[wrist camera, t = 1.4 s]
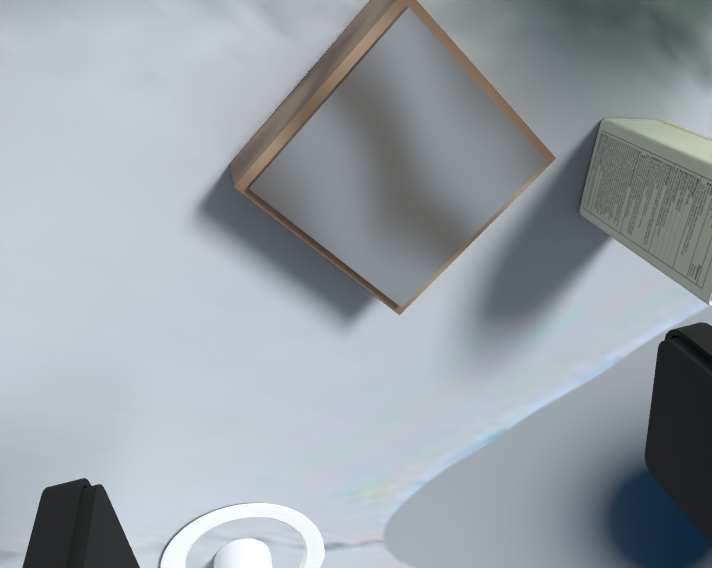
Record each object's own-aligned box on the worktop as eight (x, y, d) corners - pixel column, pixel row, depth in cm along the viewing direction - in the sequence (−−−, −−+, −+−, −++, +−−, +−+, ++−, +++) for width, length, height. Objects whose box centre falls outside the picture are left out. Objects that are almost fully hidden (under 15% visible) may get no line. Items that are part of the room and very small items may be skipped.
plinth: (385, -17, 32) (409, -11, 29) (525, 139, 38) (559, 160, 34) (229, 164, 35) (233, 189, 31) (383, 285, 40) (401, 318, 37)
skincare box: (635, 213, 42) (783, 306, 32) (573, 214, 41) (706, 310, 30) (664, 115, 39) (838, 182, 29) (598, 113, 38) (754, 181, 28)
